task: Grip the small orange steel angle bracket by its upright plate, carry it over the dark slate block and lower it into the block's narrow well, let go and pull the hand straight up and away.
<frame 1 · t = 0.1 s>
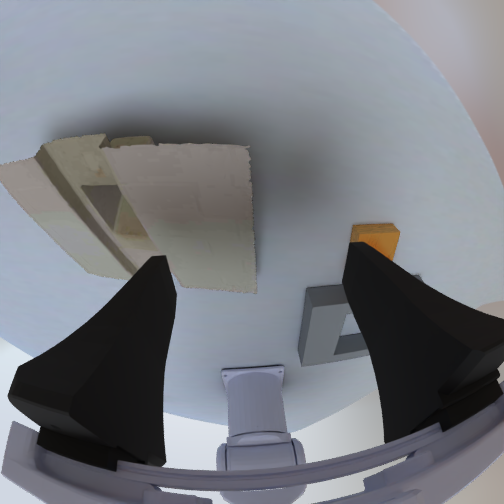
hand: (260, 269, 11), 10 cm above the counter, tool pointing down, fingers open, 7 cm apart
bracket: (368, 248, 23), on the counter
well block: (358, 315, 28), on the counter
beige piece: (150, 207, 20), on the counter
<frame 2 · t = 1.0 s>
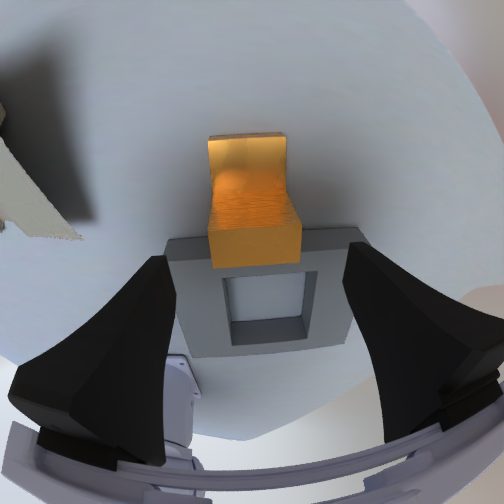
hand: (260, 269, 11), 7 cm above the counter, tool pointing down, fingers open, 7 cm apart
bracket: (247, 174, 16), on the counter
well block: (266, 289, 21), on the counter
beige piece: (4, 151, 13), on the counter
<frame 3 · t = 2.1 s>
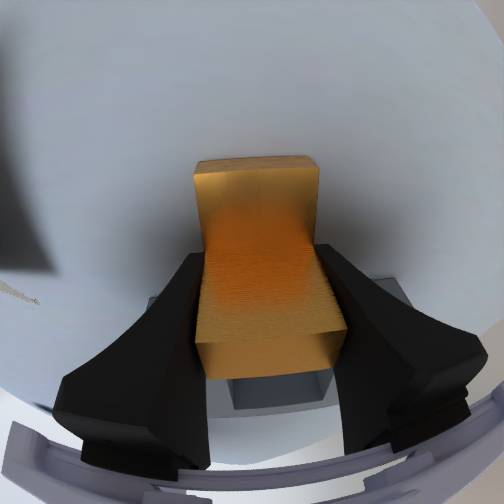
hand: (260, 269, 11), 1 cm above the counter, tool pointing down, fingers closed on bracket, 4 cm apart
bracket: (256, 218, 11), on the counter, touching gripper
well block: (276, 349, 16), on the counter
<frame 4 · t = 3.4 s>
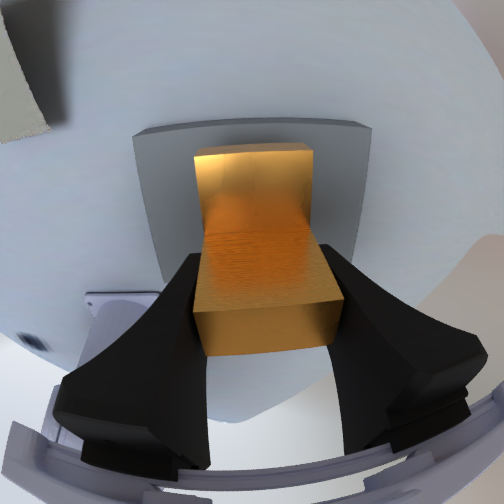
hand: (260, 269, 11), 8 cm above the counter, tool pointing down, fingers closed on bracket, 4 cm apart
bracket: (254, 203, 11), point 6 cm above the counter, touching gripper
well block: (254, 193, 18), on the counter
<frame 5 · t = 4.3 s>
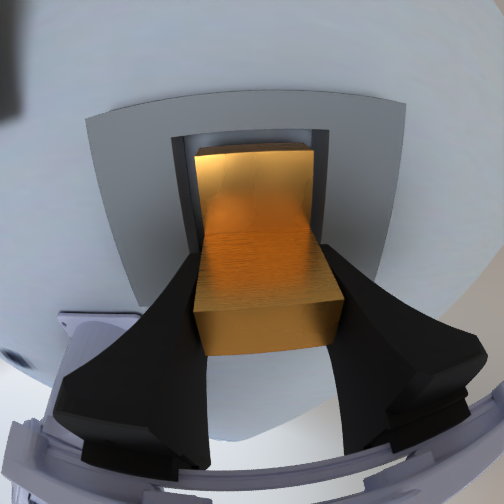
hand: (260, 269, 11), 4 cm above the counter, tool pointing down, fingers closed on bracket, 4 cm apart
bracket: (254, 202, 11), point 2 cm above the counter, touching gripper
well block: (250, 191, 13), on the counter
when the fingers open (3 cm above the counter, at t = 5.0 s): bracket stays where it is, resting in well block.
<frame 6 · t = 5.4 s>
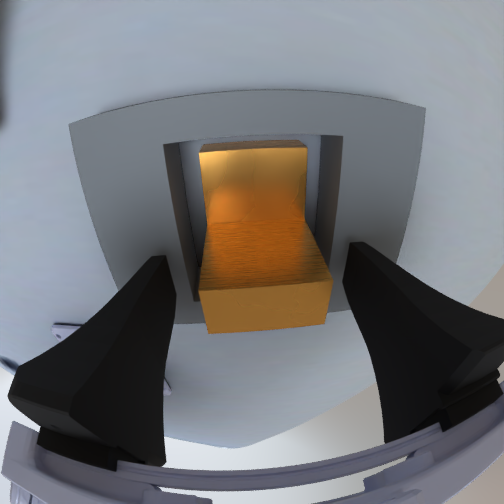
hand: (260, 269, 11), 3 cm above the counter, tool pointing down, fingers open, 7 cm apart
bracket: (253, 195, 12), resting in well block
well block: (253, 201, 12), on the counter
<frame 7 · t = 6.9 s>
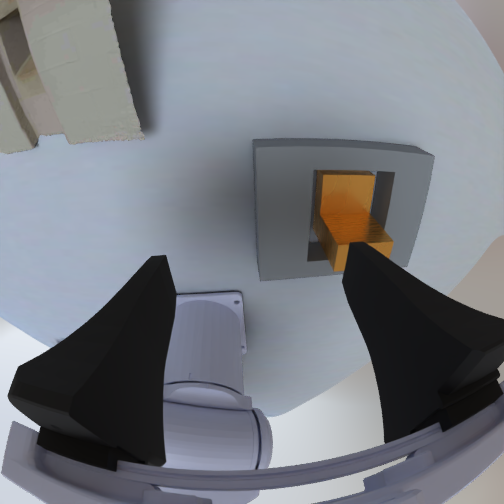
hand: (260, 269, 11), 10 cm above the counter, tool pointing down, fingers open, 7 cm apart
bracket: (339, 199, 20), resting in well block
well block: (339, 202, 20), on the counter
beige piece: (58, 63, 12), on the counter
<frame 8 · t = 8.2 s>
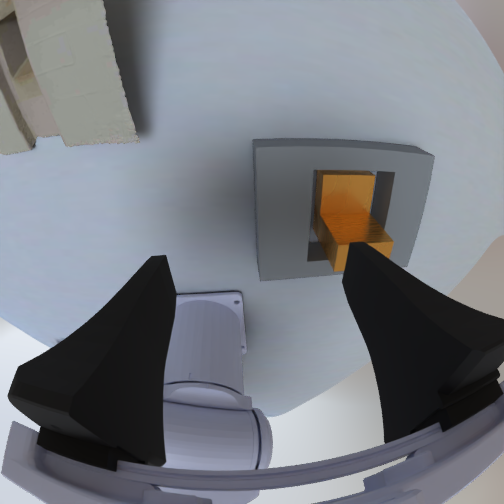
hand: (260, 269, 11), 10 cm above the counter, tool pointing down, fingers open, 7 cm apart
bracket: (339, 199, 20), resting in well block
well block: (339, 202, 20), on the counter
beige piece: (56, 65, 12), on the counter
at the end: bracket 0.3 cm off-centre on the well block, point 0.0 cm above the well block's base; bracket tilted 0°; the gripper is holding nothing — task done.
